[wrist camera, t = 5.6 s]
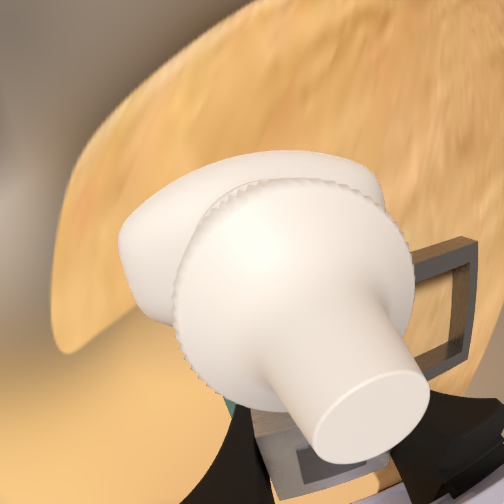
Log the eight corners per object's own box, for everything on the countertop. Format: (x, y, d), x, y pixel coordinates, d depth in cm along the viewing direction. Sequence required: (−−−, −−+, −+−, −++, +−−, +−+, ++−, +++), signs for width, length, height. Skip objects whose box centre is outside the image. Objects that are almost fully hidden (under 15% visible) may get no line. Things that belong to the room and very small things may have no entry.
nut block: (341, 385, 15) (389, 466, 9) (260, 408, 14) (279, 502, 9) (334, 314, 14) (399, 393, 8) (239, 340, 13) (255, 440, 7)
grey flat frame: (454, 349, 16) (468, 360, 15) (239, 425, 16) (242, 445, 14) (461, 236, 14) (479, 241, 13) (198, 308, 14) (196, 324, 12)
